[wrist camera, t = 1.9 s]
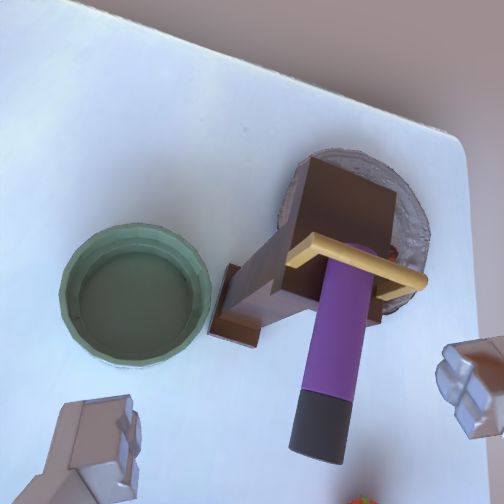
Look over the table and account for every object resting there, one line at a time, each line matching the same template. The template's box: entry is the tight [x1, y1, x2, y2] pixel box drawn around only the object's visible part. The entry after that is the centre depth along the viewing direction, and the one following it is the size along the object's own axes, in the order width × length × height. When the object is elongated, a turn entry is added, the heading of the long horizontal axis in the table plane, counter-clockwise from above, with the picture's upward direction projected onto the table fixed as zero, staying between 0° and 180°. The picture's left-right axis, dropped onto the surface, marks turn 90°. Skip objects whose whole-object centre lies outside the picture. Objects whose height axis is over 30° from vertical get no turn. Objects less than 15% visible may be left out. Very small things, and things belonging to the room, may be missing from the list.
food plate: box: [277, 148, 431, 315], centre depth 57 cm, size 25×23×4 cm
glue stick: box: [289, 243, 377, 465], centre depth 22 cm, size 12×3×3 cm, turn 166°
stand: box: [207, 156, 428, 348], centre depth 36 cm, size 10×7×30 cm
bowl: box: [59, 223, 211, 369], centre depth 43 cm, size 15×15×6 cm
